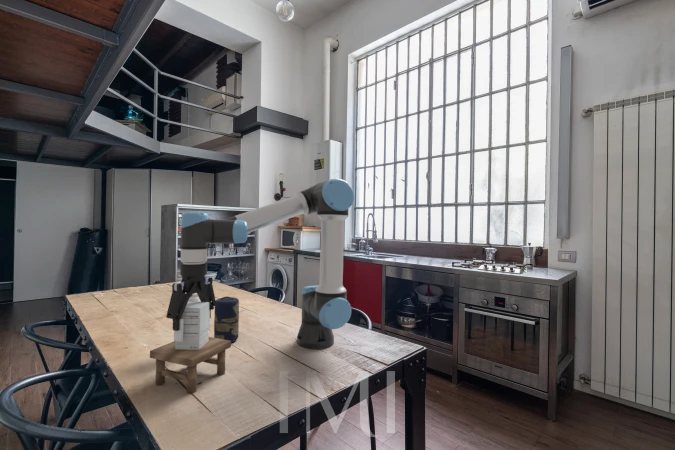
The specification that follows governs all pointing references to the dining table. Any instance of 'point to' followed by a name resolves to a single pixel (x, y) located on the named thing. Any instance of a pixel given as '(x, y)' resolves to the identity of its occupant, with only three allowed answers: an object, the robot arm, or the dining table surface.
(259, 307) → the dining table surface
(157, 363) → the stool
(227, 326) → the canister
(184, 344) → the supplement box
